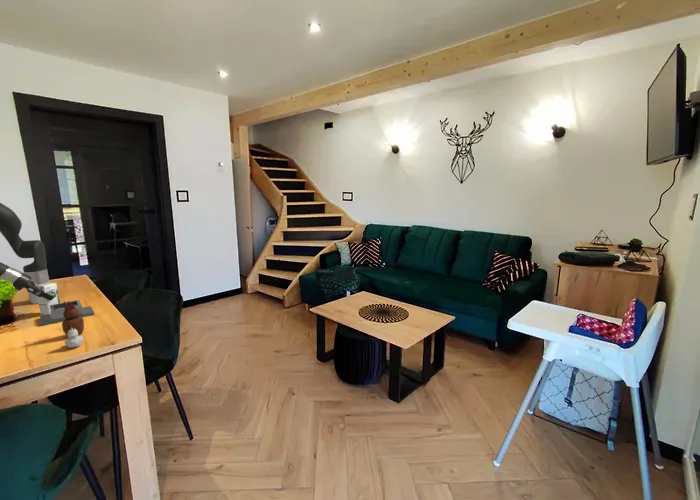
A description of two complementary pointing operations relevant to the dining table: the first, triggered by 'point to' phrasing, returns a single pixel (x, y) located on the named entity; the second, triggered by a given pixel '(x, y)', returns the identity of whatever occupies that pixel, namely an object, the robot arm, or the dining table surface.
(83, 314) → the steel sleeve
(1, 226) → the robot arm
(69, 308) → the wooden figurine
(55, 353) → the dining table surface
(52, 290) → the syrup box
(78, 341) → the rubber duck
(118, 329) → the dining table surface
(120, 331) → the dining table surface
